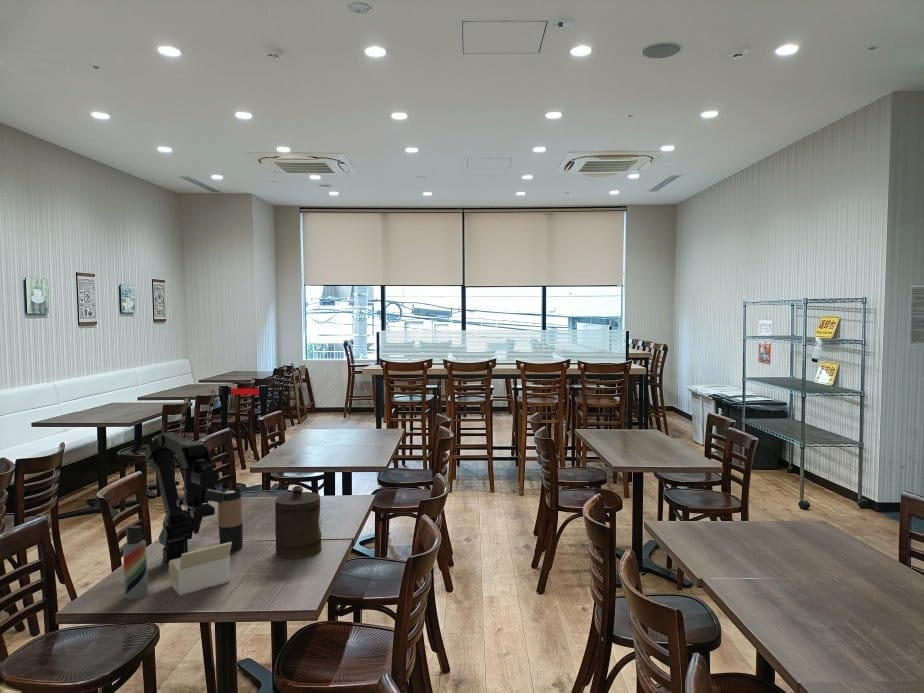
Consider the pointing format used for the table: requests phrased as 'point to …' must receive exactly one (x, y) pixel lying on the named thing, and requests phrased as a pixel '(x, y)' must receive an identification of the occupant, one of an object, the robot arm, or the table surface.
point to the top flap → (205, 555)
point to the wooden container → (297, 524)
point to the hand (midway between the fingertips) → (196, 533)
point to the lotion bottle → (135, 564)
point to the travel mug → (231, 519)
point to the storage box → (198, 575)
